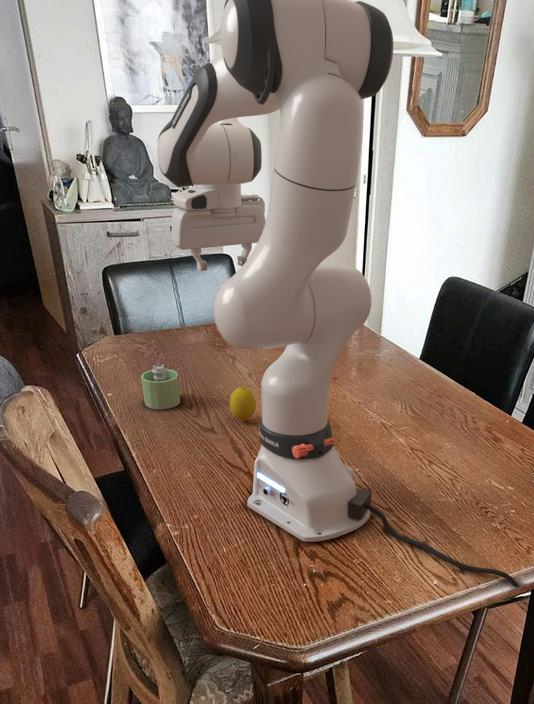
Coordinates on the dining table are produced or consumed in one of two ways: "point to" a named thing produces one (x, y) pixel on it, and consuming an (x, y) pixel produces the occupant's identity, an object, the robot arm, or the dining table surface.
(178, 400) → the cup
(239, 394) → the lemon
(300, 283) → the robot arm
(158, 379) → the rook chess piece
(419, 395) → the dining table surface
